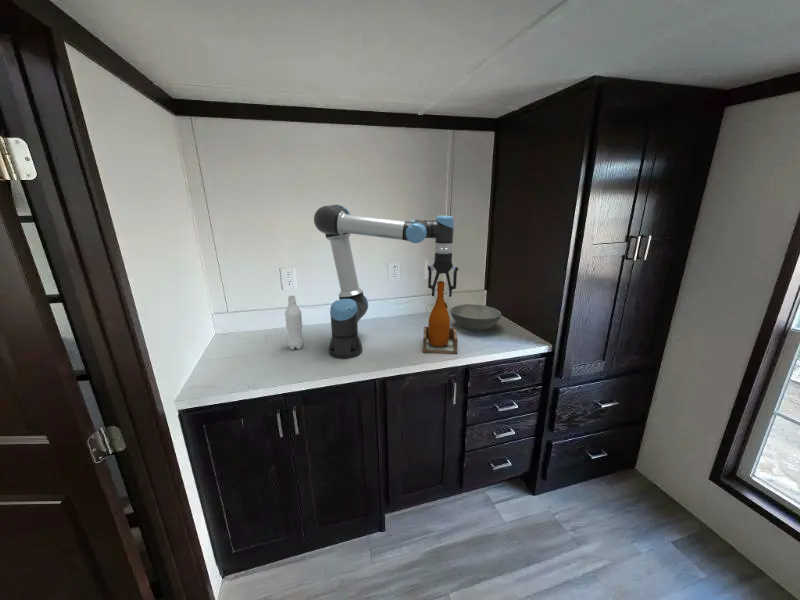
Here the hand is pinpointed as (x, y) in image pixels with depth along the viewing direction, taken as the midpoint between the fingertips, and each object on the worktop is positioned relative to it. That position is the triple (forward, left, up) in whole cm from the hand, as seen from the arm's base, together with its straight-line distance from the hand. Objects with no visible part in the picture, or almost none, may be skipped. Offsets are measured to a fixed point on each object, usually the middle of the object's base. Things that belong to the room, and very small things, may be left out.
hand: (441, 303), depth 156 cm
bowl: (+20, +26, -22) cm, 39 cm away
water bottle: (-67, -7, -22) cm, 71 cm away
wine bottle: (-1, 0, -20) cm, 20 cm away
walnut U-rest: (0, +1, -22) cm, 22 cm away
